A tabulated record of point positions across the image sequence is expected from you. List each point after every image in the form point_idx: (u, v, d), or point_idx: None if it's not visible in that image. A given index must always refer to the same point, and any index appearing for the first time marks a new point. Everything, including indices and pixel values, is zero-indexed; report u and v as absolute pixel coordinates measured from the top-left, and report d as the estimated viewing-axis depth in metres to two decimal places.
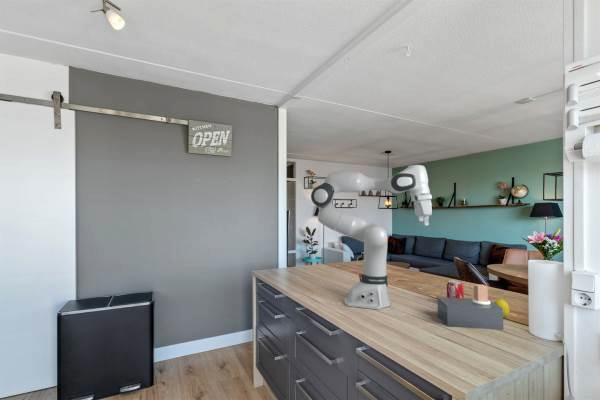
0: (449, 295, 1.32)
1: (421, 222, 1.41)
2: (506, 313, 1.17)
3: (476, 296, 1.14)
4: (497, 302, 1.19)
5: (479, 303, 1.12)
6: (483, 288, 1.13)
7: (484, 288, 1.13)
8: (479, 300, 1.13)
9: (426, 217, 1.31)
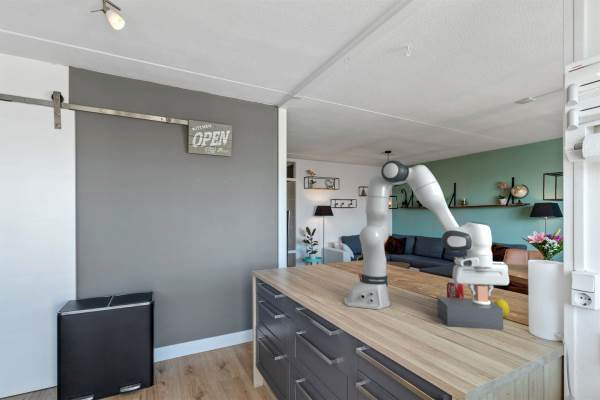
0: (449, 295, 1.32)
1: None
2: (506, 313, 1.17)
3: (476, 296, 1.14)
4: (497, 302, 1.19)
5: (479, 303, 1.12)
6: (483, 288, 1.13)
7: (484, 288, 1.13)
8: (479, 300, 1.13)
9: (469, 285, 1.15)
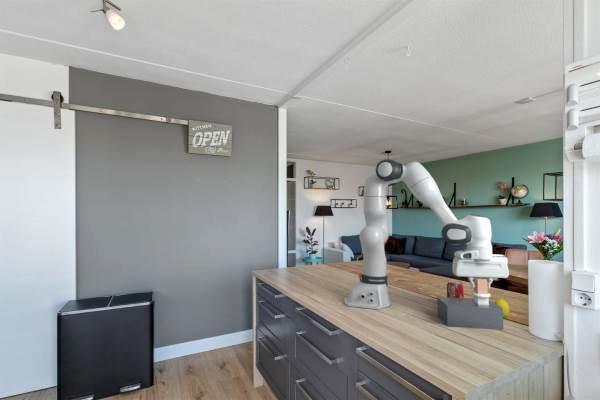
0: (449, 295, 1.32)
1: None
2: (506, 313, 1.17)
3: (476, 289, 1.14)
4: (497, 302, 1.19)
5: (479, 295, 1.12)
6: (483, 281, 1.13)
7: (484, 281, 1.13)
8: (479, 293, 1.13)
9: (468, 278, 1.15)
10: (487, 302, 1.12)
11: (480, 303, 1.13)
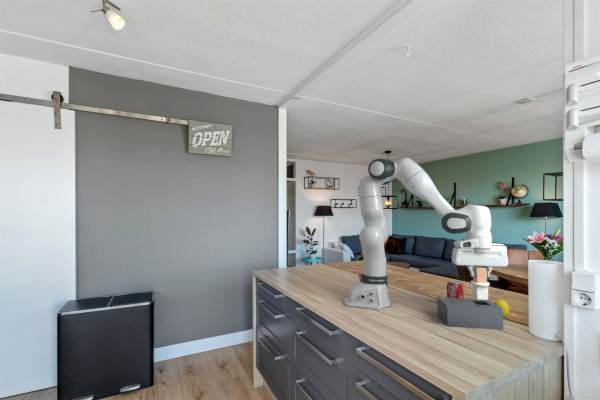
0: (449, 295, 1.32)
1: None
2: (506, 313, 1.17)
3: (475, 277, 1.14)
4: (497, 302, 1.19)
5: (478, 284, 1.12)
6: (482, 269, 1.13)
7: (483, 269, 1.13)
8: (478, 281, 1.13)
9: (468, 267, 1.16)
10: (486, 291, 1.12)
11: (479, 292, 1.13)
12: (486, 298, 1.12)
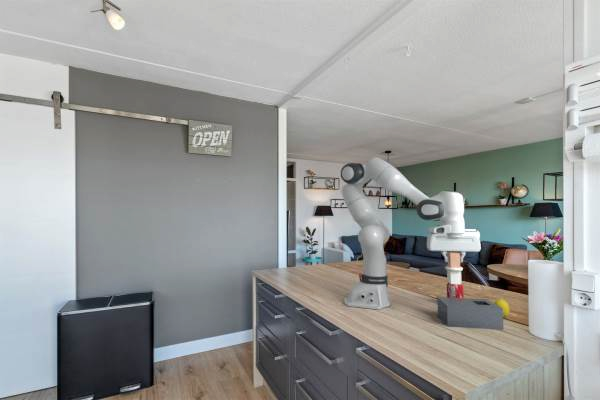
0: (449, 295, 1.32)
1: None
2: (506, 313, 1.17)
3: (449, 263, 1.16)
4: (497, 302, 1.19)
5: (451, 269, 1.14)
6: (455, 254, 1.15)
7: (456, 254, 1.15)
8: (452, 266, 1.15)
9: (442, 252, 1.18)
10: (459, 275, 1.14)
11: (453, 276, 1.15)
12: (459, 283, 1.14)
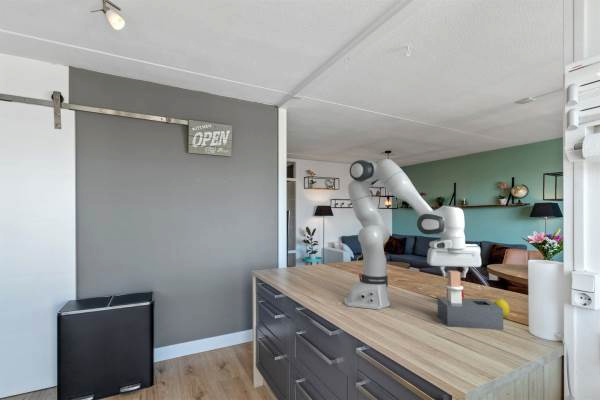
0: None
1: (460, 274, 1.16)
2: (506, 313, 1.17)
3: (450, 281, 1.16)
4: (497, 302, 1.19)
5: (452, 288, 1.14)
6: (456, 273, 1.15)
7: (457, 273, 1.15)
8: (452, 285, 1.15)
9: (440, 267, 1.17)
10: (460, 294, 1.14)
11: (453, 295, 1.14)
12: (460, 302, 1.14)
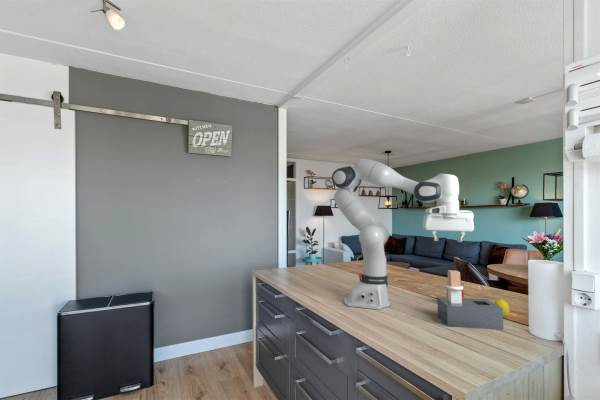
0: None
1: (457, 239, 1.22)
2: (506, 313, 1.17)
3: (450, 281, 1.16)
4: (497, 302, 1.19)
5: (452, 288, 1.14)
6: (456, 273, 1.15)
7: (457, 273, 1.15)
8: (452, 285, 1.15)
9: (432, 232, 1.24)
10: (460, 294, 1.14)
11: (453, 295, 1.14)
12: (460, 302, 1.14)
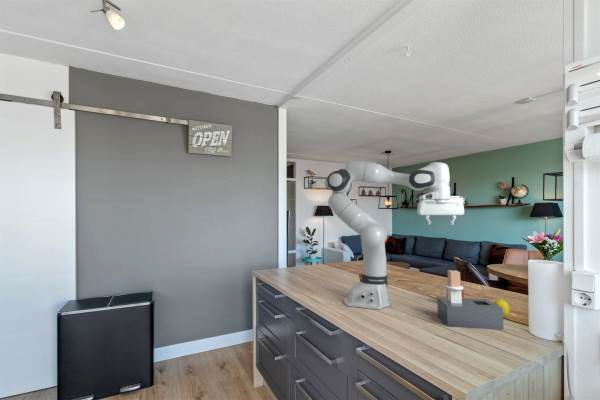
0: None
1: (449, 222, 1.32)
2: (506, 313, 1.17)
3: (450, 281, 1.16)
4: (497, 302, 1.19)
5: (452, 288, 1.14)
6: (456, 273, 1.15)
7: (457, 273, 1.15)
8: (452, 285, 1.15)
9: (425, 217, 1.33)
10: (460, 294, 1.14)
11: (453, 295, 1.14)
12: (460, 302, 1.14)
